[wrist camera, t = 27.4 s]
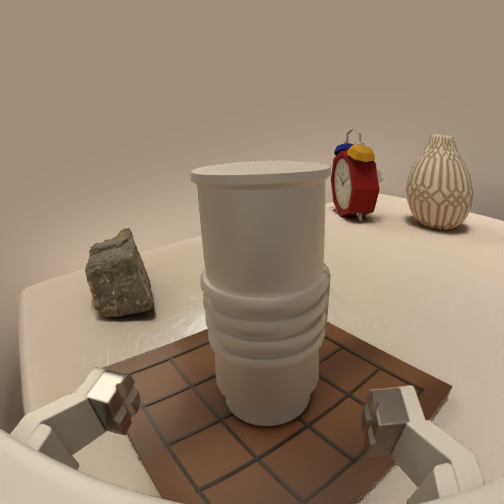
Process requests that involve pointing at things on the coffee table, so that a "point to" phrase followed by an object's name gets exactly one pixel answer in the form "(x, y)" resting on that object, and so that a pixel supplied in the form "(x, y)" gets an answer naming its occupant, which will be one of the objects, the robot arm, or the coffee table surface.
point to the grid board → (264, 437)
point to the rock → (118, 277)
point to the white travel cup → (264, 282)
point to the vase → (440, 185)
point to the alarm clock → (355, 179)
